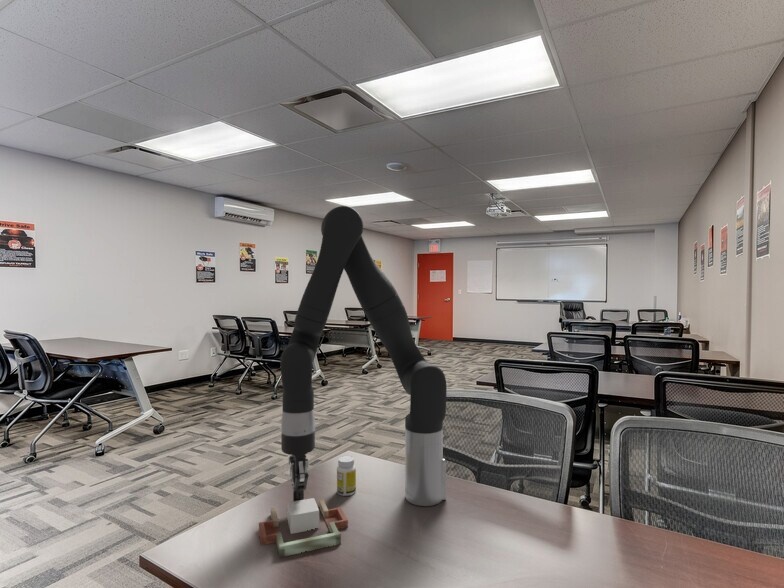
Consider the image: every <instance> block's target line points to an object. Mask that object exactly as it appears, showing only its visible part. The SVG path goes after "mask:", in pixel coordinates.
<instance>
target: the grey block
mask: <svg viewBox="0 0 784 588" xmlns="http://www.w3.org/2000/svg"><path fill="white" fill-rule="evenodd" d="M286 505H287V507H286V511H287V512H286V518H287V519H286V520H288V521H287V524H288V528H289V531H290V534H291V535H292V534H299V533H302V532H303V533H304V532H307V530H308V531H312V530H311V529H313V530H316V529H315V528H318V529H320V508H319V505H318V504H317V502H316V499H315V497H311V498H306V499H305V498H304V500H299V501H293V500H292V501H289V502H286Z"/></svg>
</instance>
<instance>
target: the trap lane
mask: <svg viewBox="0 0 784 588" xmlns="http://www.w3.org/2000/svg"><path fill="white" fill-rule="evenodd" d="M319 507H320V508H319ZM318 508H319V511H320V512H321V515H322V514H323V515H322V517H323V516H324V517H323V519H324V521H325V523H327V524H326V525H328V526H327V528H328V531H329V532H331V533H325V534H321V535H316V536H312V537H307V538H303V539H302V538H301V539H296V540H292V541H287V542H284V540H283V535H282V532H280V527H279V519H278V513H277V508H276V507H271V508H270V517H271V518H270V519H271V520H267V521H262V522H261V521H260V522H258V533H259V534H258V535H259V540H260V546H264V545H267V544H273V543H276V547H277V551H278V556H279V558H283V556H284V557H287V556H292V555H296V554H302V553H306V552H305V551H307V552H311V551H316V550H319V549H323V548H324V547H325V548H329V547H334V546H338V545H341V544H342V537H341V536H342V534H341V532H340V531H339V530H341V529H345V528H344V527H346V528H348V527H349V520H348V518H347V516H346V514H345V512H344V510H343V508H342V507H341V506H340V507H335V508H330V509H328V506H327V505H326V502H325V500H324V499H323V498H320V499H318ZM340 528H341V529H340ZM333 545H334V546H333ZM328 546H329V547H328ZM315 549H316V550H315ZM301 552H302V553H301Z"/></svg>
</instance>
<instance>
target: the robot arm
mask: <svg viewBox="0 0 784 588" xmlns="http://www.w3.org/2000/svg"><path fill="white" fill-rule="evenodd" d="M320 232H321V235H322V239H321V244H320V250H319V253H318V257H317V260H316V263H315V266H314V268H313V271H312V273H311V276H310V278H309V280H308V283H307V285H306V287H305V289H304V292H303V293H302V294H303V295H302V296H301V300H300V303H299V306H298V308H297V312H296V314H295V319H294V322H293V323H294V324H293V325H294V326H293V327H294V328H293V330H292V333H291V335H290V338H289V342H288V343H287V345H286V347H285V348H284V349H283V351H282V353H281V355H280V376H281V385H282V413H281V422H280V423H281V427H280V428H281V430H280V431H281V433H280V435H281V437H280V438H281V441H280V442H281V444H280V445H281V452H282V453H283V454H285V455H289V457H288V465H289V477H290V482H291V486H292V487H291V488H292V502H293V501H299V500H304V499H305V497H304V494H305V490H306V491H307V485H308V480H309V472H308V468H309V459H308V458H307V454H309V453H311V452H312V451H314V450H315V448H316V426H315V425H316V418H315V416H316V415H315V409H314V407H315V402H314V401H315V398H314V397H315V395H314V388H313V363H314V361H315V358H316V354H317V351H318V348H319V344H320V340H321V336H322V333H323V331H324V329H325V327H326V324H327V322H328V319H329V316H330V313H331V309H332V307H333V304H334V300H335V296H336V292H337V290H338V286H339V283H340V280H341V278H342V275H343V272H345V273H346V275H347V278H348V280H349V282H350V285H351V287H352V290H353V292H354V294H355V296H356V298H357V301H358V303H359V304H360V307H361V309H362V311H363V312H364V315H365V317H366V318H367V320H368V322H369V324H370V325H371V327H372V328H373V331H374V332H375V333H376V337H378V339H379V341H380V343H382V345H383V347H384V348H385V350H386V352H387V354H388V356H390V359H391V361H392V364H393V365H394V368H395V371H396V373H397V377H398V379H399V381H400V384H401V386H402V388H403V389H404V391H405V392H406V393H407V394H408V395H409V396H410V400H409V401H410V402H409V403H410V404H409V405H410V406H409V408H410V409H409V412H408V414H406V416H405V420H404V428H405V429H404V430H405V431H404V432H405V433H404V434H405V436H404V437H405V438H404V440H405V444H404V445H405V446H404V448H405V451H404V452H405V461H404V465H405V467H404V468H405V469H404V471H405V476H404V477H405V482H404V483H405V489H404V490H405V492H404V493H405V499H406V501H407V502H408V503H409V504H412V505H415V506H419V507H432V506H435V505H439V504H440V503H441V502H442V501H444V500H447V461H446V460H447V459H445V458H444V456H443V455H444V452H443V451H444V450H443V449H444V445H443V444H444V441H443V440H444V438H443V437H444V435H443V434H444V433H443V430H444V428H443V426H444V425H443V422H444V420H445V418H446V413H447V412H446V411H447V379H446V376H445V373H444V371H443V370H442V369H441V368H439V367H438V366H436V365H434V364H432V363H429V362H428V361H427V360H426V359H425V357H424V355H423V354H422V352H421V351H420V349H419V347H418V346H417V344H416V342H415V340H414V337H413V335H412V334H413V333H412V331H411V326H410V321H409V320H410V319H409V316H408V313H407V310H406V308H405V306H404V303H403V301H402V299H401V298H400V295H399V294H398V292H397V289H396V288H395V287H394V285H393V284H392V282H391V280H390V279H389V278H388V276H387V275H386V274H385V273H384V271H383V270H382V269H381V268H380V266H379V265H378V264H377V263H376V261H375V260H374V258H373V257H372V255H371V253H370V252H369V249H368V247H367V245H366V243H365V240H364V237H363V232H364V222H363V219H362V217H361V215H360V213H359V212H358V211H357V210H356V209H355V208H353V207H351V206H348V205H341V206H336V207H333V208H332V209H330V210H329V211H328V212H327V213H326V215H324V217H323V219H322V222H321V225H320Z"/></svg>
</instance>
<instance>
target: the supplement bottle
mask: <svg viewBox="0 0 784 588" xmlns="http://www.w3.org/2000/svg"><path fill="white" fill-rule="evenodd" d="M354 458H355V457H353V456H350V455H349V456H348V455H345V456H340V457H339V458H338V459H337V460H338V462H337V463H338V466H337V468H336V493H337V494H338V495H339V496H343V497H344V496H345V497H347V496H352V495H354V494H355V493H356V491H357V479H356V477H357V476H356V475H357V474H356V472H357V471H356V470H357V469H356V465H355V459H354Z"/></svg>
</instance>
